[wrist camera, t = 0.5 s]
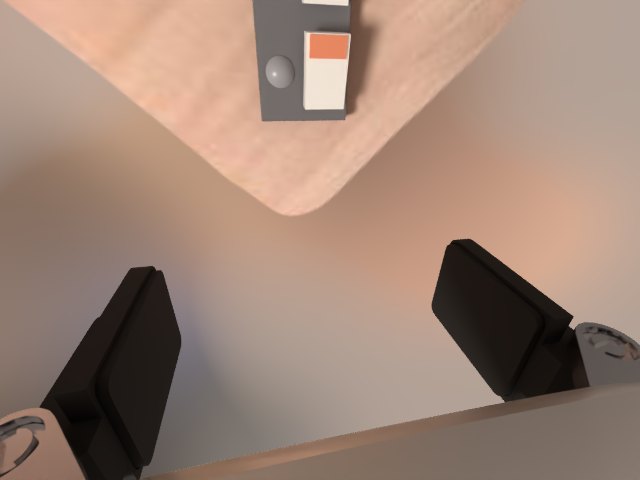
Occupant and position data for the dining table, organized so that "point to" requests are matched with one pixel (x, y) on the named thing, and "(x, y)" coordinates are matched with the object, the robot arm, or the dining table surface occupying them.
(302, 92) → the strip
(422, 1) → the dining table surface
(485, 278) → the robot arm
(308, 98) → the block
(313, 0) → the rocker middle
